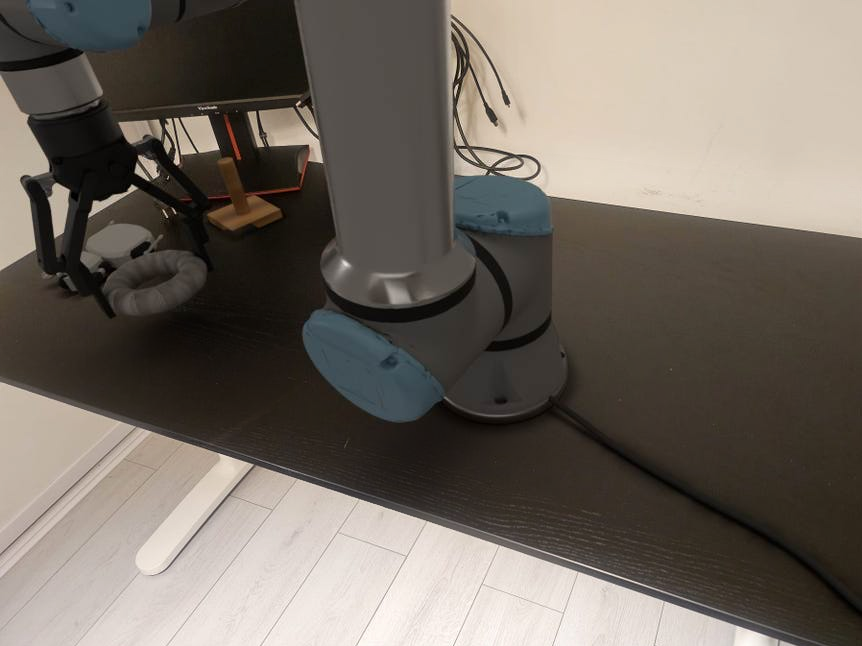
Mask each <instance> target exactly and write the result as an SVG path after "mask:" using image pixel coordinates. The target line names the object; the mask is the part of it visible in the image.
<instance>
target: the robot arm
mask: <svg viewBox="0 0 862 646" xmlns="http://www.w3.org/2000/svg"><path fill="white" fill-rule="evenodd" d="M246 1H248V0H0V77H1V78H2V80H3V82H4V84H5V86H6V88H7V90H8V92H9V93H10V95H11V96H12V99H13V100H14V102H15V104H16V105H17V108H18V109H19V111H20V112H21V113H23V114H25V115H27V116H28V117H27V120H26V124H27V126H28V128H29V129H30V131H31V133H32V135H33V136H34V138H35V140H36V142H37V144H38V146H39V147H40V149H41V151H42V152H43V155H44V156H45V157H46V160H47V162H48V171H46V172H43V173H40V174H36V175H34V176H33V175H30V174H23V175H21V176H20V178H19V182H20V184H21V187H22V189H24V192H25V194H26V195H27V196H28V199H29V205H30V214H31V221H32V228H33V229H32V230H33V236H34V244H35V251H36V259H37V264H38V266H39V267H40V268H41V270H43V272H45V273H46V274H48V275H55V274H56V273H66V274H67V275H68V277H69V278H70V280H71V282H72V283H73V285H74V286H75V288H76V290H77V291H76V292H78V293H79V294H80V295H81V296H83V297H84V298H86V297H88V296H91V295H92V297H93V298H94V301H96V304H97V305H98V307H99V309H100V310H101V312H102V313H103V314H104V315H105V316H106V317H107V318H108V319H109V320H112V319H114V318H116V317H117V315H116V312H115V311H114V310H113V309H112V308H111V306H110V304H109V303H108V301H107V299H106V298H105V296H104V294H103V292H102V289H101V288H100V287H101V286H100V287H99V286H98V284H97V282H96V281H95V279H94V277H93V276H92V274H91V272H90V270H89V269H88V268H87V267H86V266H85V265H84V264H83V263H82V262H81V261H80V258H81V253H82V252H83V248H84V242H85V238H86V232H87V227H88V222H89V215H90V214H91V212H92V210H93V204H94V202H99V203H101V202H104V201H107V200H108V199H109V198H111V197H112V196H115V195H123V194H125V193H128V192H129V189H130V188H131V187H132V186H134V187H135V188H137V189H138V190H140V191H142V192H144V193H146V194H147V195H149V196H151V197H153V198H154V199H156V200H157V201H159V202H161V203H163V205H166V206H168V207H169V208H171V209H173V210H175V211H177V212H178V213H180V214H182V215H183V217H181V218H179V219H178V221H179V223H180V225H181V228H182V230H183V232H184V235H185V236H186V239H187V242H188V243H189V245H190V248H191V250H192V253H193V254H195V255H196V256H197V257H199V258H200V259H202V260H203V261H204V262H205V264H206V266H207V273H211V272H213V271H215V268H214V265H213V263H212V261H211V259H210V257H209V254H208V251H207V249H206V247H205V245H204V244H207V243H209V242H210V235H209V233H208V231H207V229H206V227H205V224H204V222H203V221H204V219H205V217H204V214H205V212H206V211H210V210H212V208H213V206H214V203H213V201H211V200H210V199H209V198H208V196H207V195H206V194H205V193H204V192H203V191H202V190H201V189H200V188H199V187H198V186H197V185H196V184H195V182H194V181H192V180H191V178H190V177H188V175H186V173H184V172H183V171H182V169H181V168H180V167H179V166H178V165H177V164H176V163H175V162H174V161H173V160H172V158H170V156H169V154H168V152H167V150H166V147H165V145H164V144H163V142H162V141H161V139H159V138H157V137H155V136H153V135H151V134H149V133H146V134H144V135H143V136H142V137H141V138H142V139H141V140H138V141H135V142H132V143H130V142H129V141H128V139H127V138H126V136H125V134H124V131H123V130H122V127H121V125H120V124H119V121H118V119H117V116H116V115H115V113H114V111H113V109H112V106H111V104H110V102H109V101H108V100H106V99H105V98H103V97H102V96H103V94H104V92H105V91H104V89H103V86H102V84H101V83H100V81H99V78H98V76H97V75H96V73H95V70H94V68H93V66H92V63H91V61H90V59H89V58H88V56H87V55H88V54H87V53H86V52H91V53H93V54H94V53H95V54H103V53H105V54H106V53H107V52H119V51H125V50H128V49H130V48H133V47H134V46H136V45H137V44H138V43H139V42H140V40H142V39H143V38H144V36H145V34H146V33H148V32H151V31H155V30H158V29H161V28H164V27H167V26H170V25H173V24H176V23H179V22H183V21H187V20H190V19H193V18H197V17H201V16H204V15H208V14H211V13H215V12H217V11H221V10H227V9H234V8H236V7H238V6H240V5H241V4H243V3H244V2H246ZM293 5H294V11H295V15H296V16H295V17H296V21H297V27H298V32H299V38H300V43H301V44H300V45H301V49H302V55H303V59H304V66H305V71H306V76H307V81H308V87H309V93H310V100H311V104H312V109H313V110H312V111H313V115H314V120H315V121H314V122H315V126H316V131H317V132H316V133H317V137H318V138H317V139H318V142H319V148H320V153H321V154H320V155H321V160H322V164H323V171H324V176H325V181H326V182H325V183H326V187H327V193H328V198H329V204H330V209H331V213H332V220H333V225H334V231H335V235H334V237H333V238H332V239H331V240H330V241H329V242H328V243H327V244H326V246H325V247H324V249H323V251H322V254H321V257H320V262H319V265H320V274H321V277H322V282H323V286H324V292H325V296H326V300H325V301H326V302H325V304H324V306H323V307H322V308H321V309H315V310H314V311H313V312H312V313H311V314H310V315H309V316H310V317H309V319H307V321H305V323H304V324H303V327H302V330H301V334H302V336H301V337H302V342H303V346H304V349H305V351H306V352H307V355H308V357H309V359H310V360H311V362H312V363H313V365H314V366H315V368H316V369H317V371H319V373H320V374H321V375H322V377H323V378H324V379H325V380H326V381H327V382H328V383H329V385H331V386H332V387H333V388H334V389H335V390H336V391H337V392H338V393H339V394H340V395H342V396H343V397H344V398H345V399H347V400H348V401H349V402H351V403H352V404H353V405H355V406H356V407H358V408H359V409H361V410H363V411H364V412H366V413H367V414H370V415H372V416H374V417H375V418H378V419H381V420H384V421H388V422H391V423H399V424H401V423H403V424H404V423H407V422H408V423H409V422H413V421H417V420H419V419H420V418H422V417H423V416H424V415H425V414H426V413H428V411H430V409H431V408H433V407H434V405H436V403H440V402H442V403H443V405H444V406H445V407H447V408H448V409H449V410H450V411H451V412H453V413H455V414H456V415H458V416H460V417H461V418H464V419H467V420H470V421H473V422H477V423H478V422H479V423H481V424H494V425H496V424H497V425H500V424H501V425H502V424H503V425H504V424H512V423H518V422H521V421H525V420H529V419H531V418H534V417H536V416H538V415H540V414H542V413H543V412H545V411H547V410H548V409H549V408H551V407H553V406H554V407H555V408H557V409H558V410H560V411H561V412H562V413H564V414H565V415H566V416H567V417H569V418H571V419H572V420H574V421H575V422H576V423H578V424H579V425H580V426H581V427H583V428H584V429H585V430H587V432H589V433H591V434H592V435H593V436H594V437H596V438H597V439H599V440H600V441H601V442H603V443H604V444H605V445H607V446H608V447H610V448H611V449H612V450H614V451H616V452H617V453H618V454H620V455H621V456H623V457H624V458H626V459H628V460H629V461H631V462H632V463H634V464H636V465H638V466H639V467H641V468H642V469H644V470H646V471H647V472H649V473H651V474H653V475H654V476H656V477H657V478H659V479H661V480H663V481H665V482H667V483H668V484H670V485H671V486H673V487H675V488H677V489H679V490H681V491H682V492H684V493H686V494H688V495H689V496H691V497H692V498H694V499H696V500H698V501H700V502H702V503H703V504H705V505H707V506H708V507H711V508H713V509H715V510H716V511H718V512H720V513H722V514H723V515H727V516H729V517H730V518H732V519H734V520H735V521H738V522H740V523H742V524H744V525H745V526H748V527H750V528H752V529H753V530H755V531H757V532H758V533H760V534H762V535H764V536H766V537H767V538H769V539H770V540H772V541H773V542H776V543H777V544H778V545H780V546H781V547H782V548H784V549H785V550H787V551H789V552H790V553H792V554H793V555H794V556H796V557H797V558H799V559H800V560H801V561H803V562H804V563H805V564H806V565H808V567H810V568H811V569H813V571H815V572H816V573H817V574H818V575H819V576H820V577H822V578H823V579H824V580H825V581H826V582H827V583H828V584H829V585H830V586H831V587H832V588H833V589H835V591H837V592H838V593H839V594H840V595H841V596H842V597H844V599H846V600H847V601H848V602H849V603H850V604H851V605H853V606H854V607H855V608H856V609H857V610H858V611H860V612H861V613H862V599H861V598H860V597H859V596H858V595H857V594H855V593H854V592H853V591H852V590H851V589H850V588H849V587H847V586H846V584H844V583H843V582H842V581H841V580H840V579H839V578H838V577H836V576H835V575H834V574H833V573H832V572H831V571H830V570H829V569H828V568H826V567H825V566H824V565H823V564H821V562H819V561H818V560H817V559H816V558H814V557H813V556H812V555H811V554H809V553H807V552H806V551H805V550H804V549H803V548H801V547H799V545H797V544H795V543H794V542H793V541H791V540H790V539H788V538H786V537H785V536H783V535H781V534H780V533H779V532H777V531H775V530H773V529H771V528H770V527H768V526H766V525H765V524H763V523H761V522H759V521H757V520H756V519H754V518H752V517H750V516H748V515H746V514H744V513H742V512H740V511H738V510H737V509H734V508H732V507H731V506H728V505H726V504H724V503H722V502H721V501H719V500H717V499H714V498H712V497H711V496H709V495H707V494H705V493H704V492H702V491H700V490H698V489H696V488H694V487H693V486H691V485H689V484H687V483H686V482H684V481H682V480H680V479H679V478H677V477H675V476H674V475H671V474H669V473H668V472H666V471H664V470H662V469H661V468H659V467H657V466H655V465H654V464H652V463H650V462H649V461H647V460H645V459H644V458H642V457H640V456H638V455H637V454H635V453H633V452H632V451H630V450H629V449H628V448H626V447H624V446H623V445H621V444H619V443H618V442H616V441H615V440H614V439H612V438H611V437H609V436H608V435H606V434H605V433H604V432H602V431H601V430H600V429H598V428H597V427H596V426H594V425H593V424H592V423H591V422H589V421H588V420H587V419H586V418H584V417H583V416H581V415H580V414H578V413H577V412H576V411H575V410H573V409H572V408H570V407H569V406H567V405H566V404H565V403H563V402H562V401H560V400H559V399H560V398H561V396H562V395H563V393H564V391H565V389H566V387H567V383H568V373H569V370H568V369H569V363H568V358H567V353H566V351H565V348H564V346H563V344H562V342H561V340H560V337H559V334H558V331H557V328H556V326H555V323H554V321H553V319H552V318H553V317H552V310H553V309H552V307H553V305H552V304H553V303H552V302H553V243H554V242H553V239H554V238H553V235H554V234H553V233H554V232H555V225H554V224H553V217H552V215H553V214H552V213H553V212H552V203H551V200H550V197H549V196H548V195H547V194H546V192H544V191H543V190H542V189H541V188H540V187H539V186H537V185H536V184H534V183H532V182H530V181H527V180H525V179H521V178H517V177H512V176H506V175H499V174H497V175H496V174H495V175H494V174H475V175H466V176H465V175H464V176H460V177H455V143H454V142H455V141H454V139H455V137H454V136H455V135H454V97H453V96H454V94H453V51H452V50H453V49H452V48H453V47H452V44H453V43H452V6H451V5H452V2H451V0H293ZM139 155H142V156H143V157H144V158H145V159H147V160H149V161H153V162H154V163H155V164H156V165H157V166H158V167H159V169H161V170H162V171H163V172H164V173H165V174H166V175H167V177H169V178H170V179H171V180H172V182H174V184H175V185H177V186H178V187H179V188H180V189H181V191H183V192H184V194H185V195H186V196H188V198H190V200H191V202H190V203H189V204H187V203H186V202H184V201H182V200H180V199H179V198H177V197H176V196H174V195H172V194H171V193H169V192H167V191H166V190H164V189H162V188H161V187H159V186H158V185H155V183H153V182H151V181H149V180H148V179H146V178H145V177H142V176H141V175H139V174H137V173H136V168H137V165H138V164H137V163H138V159H139ZM56 184H57V185H59V186H61V187H63V188H65V189H67V190H69V192H68V196H67V197H68V198H67V203H68V207H67V211H66V218H65V223H64V230H63V234H62V240H61V246H60V251H59V256H57V249H56V241H55V232H54V223H53V214H52V207H51V203H50V200H49V198H51V197H52V196H53V193H54V191H53V186H54V185H56ZM55 276H56V275H55Z"/></svg>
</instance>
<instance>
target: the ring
mask: <svg viewBox="0 0 862 646" xmlns="http://www.w3.org/2000/svg"><path fill="white" fill-rule="evenodd" d="M169 275H174V276H173V277H172V278H171V279H168V280H166V281H164V282H161V283H160V284H157V285H155V286H150V287H145V288H140V289H138V288H139V287H140V286H141V285H143V284H145V283H147V282H149V281H152V280H154V279H156V278H160V277H165V276H169ZM207 275H208V271H207V266H206V264H205V262H204V261H203V260H202V259H200V258H199V257H197V256H196V255H195V254H194V252H193V251H192V252H191V251H188V250H179V249H165V250H160V251H155V252H154V253H149V254H145V255H143V256H140V257H138V258H136V259H133V260H131V261H129V262H127V263H125V264H123V265H122V266H121V267H119V268H116V270H114V271H113V272H111V273H109V274H108V275H107V278H106V281H105V282H104V285H103V288H102V289H101V291H102V292H103V294H104V296H105V298H106V299H107V301H108V303H109V304H110V306H111V308H112V309H113V311H114V313H117V314H119V315H125V316H133V317H134V316H135V317H146V316H151V315H156V314H161V313H165V312H168V311H171V310H173V309H175V308H177V307H179V306H181V305H183V304H185V303H187V302H189V301H190V300H192V298H194V297H195V296H196V295H197V294H198V293H199V292H200V291H201V290H203V288H204V287H205V285H206V282H207Z"/></svg>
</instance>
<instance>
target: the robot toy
mask: <svg viewBox="0 0 862 646" xmlns="http://www.w3.org/2000/svg"><path fill="white" fill-rule="evenodd" d="M163 238H164V234H160V235H159V236H158V237H157V239H155V238H154V236H153V234H152V232H151V231H150V230H148V229H147V228H145V227H143V226H141V225H137V224H130V223H115V220H111V221H110V222H109V224H108V225H107V226H106V227H103V228H102V229H101V230H100V231H98V232H96V233H95V234H93V235H91V236H90V237H88V238H87V242H86V244H85V249H86V251H85V250H82V253H81V258H80V261H81V262H82V263H83V264H84V265H85V266H86V267H87V268H88V269H89V270H90V272H91V274H92V276H93V277H94V279H95V281H96V282H97V284H98V286H99V287H101V286H102V285H103V284H104V279H105V278H106V277H108V276H109V275H110V272H111V270H112V269H118V268H119V267H121V266H122V265H123V264H125V263H127V262H129V261H131V260H133V259H136V258H138V257H140V256H143V255H145V254H149V253H154V252H157V249H158V243H159V242H160V240H162V239H163ZM54 277H56V278H57V279H58V280H57V283H58V285H59V287H60V288H61V289H62V290H67V291H68V290H71V292H78V291H77V290H76V288H75V286H74V285H73V283H72V282H71V280H70V278H69V277H68V275H67V274H66V273H56V274H55V275H48V274H46V273H45V272H44V271H43V272H42V273H41V278H42V279H43V280H44V281H50V280H52V279H53V278H54Z"/></svg>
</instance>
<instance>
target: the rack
mask: <svg viewBox="0 0 862 646" xmlns="http://www.w3.org/2000/svg"><path fill="white" fill-rule="evenodd" d="M216 162H217V165H218V168H219V171H220V174H221V176H222V179H223V181H224V184H225V187H226V190H227V192H228V195H229V198H230V201H231V203H230V204H228V205H226V206H223V207H221V208H219V209H216V210H214V211H212V212H211V211H210V212H209V213H207V214H206V216H207V218H208V221H209V223H211V224H213V225H214V226H216V227H217V228H219V229H220V230H222V231H225V230H230V231H236V229H239V228H242V227H244V226H246V225H248V224H252V225H253V226H255V227H256V228H257V229H258V228H259V229H260V228H262V227H264V226H266V225H268V224H271V223H273V222H275V221H277V220H280V219H282V218H283V213H282V211H281V208H279V207H277V206H276V205H274V204H272V203H270V202H268V201H266V200H265V199H263V198H261V197H259V196H257V195H256V194H252V195H250V196H246V193H245V190H244V187H243V184H242V181H241V179H240V176H239V173H238V169H237V167H236V164H235V162H234V158H233V157H229V156H227V157H226V156H225V157H223V158H222V157H221V158H220V159H218V160H217V161H216Z"/></svg>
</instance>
